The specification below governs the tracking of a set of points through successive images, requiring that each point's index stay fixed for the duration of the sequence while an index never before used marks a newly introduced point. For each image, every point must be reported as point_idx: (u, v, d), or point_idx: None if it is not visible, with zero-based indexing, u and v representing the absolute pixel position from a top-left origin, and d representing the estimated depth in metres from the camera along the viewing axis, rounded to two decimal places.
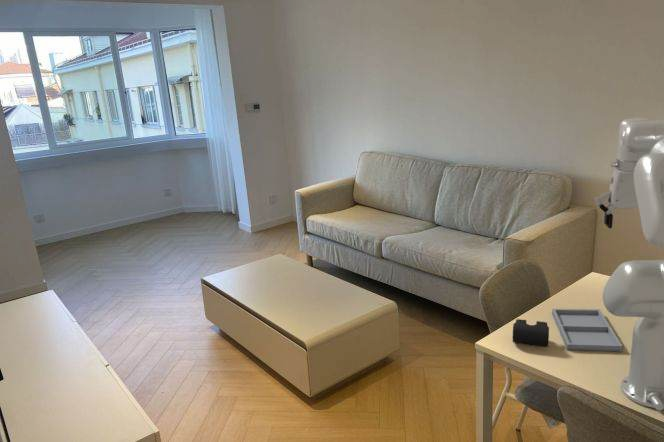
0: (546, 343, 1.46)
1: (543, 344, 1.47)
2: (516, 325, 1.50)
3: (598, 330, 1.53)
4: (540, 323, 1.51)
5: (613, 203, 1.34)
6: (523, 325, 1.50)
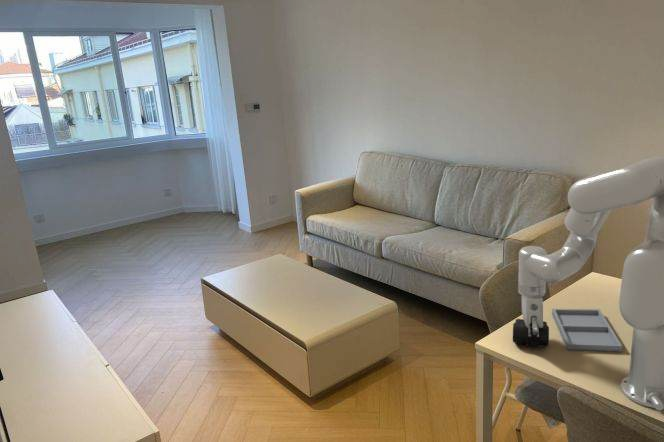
0: (546, 342, 1.46)
1: (543, 344, 1.47)
2: (516, 325, 1.50)
3: (598, 330, 1.53)
4: None
5: (542, 324, 1.44)
6: (523, 325, 1.50)
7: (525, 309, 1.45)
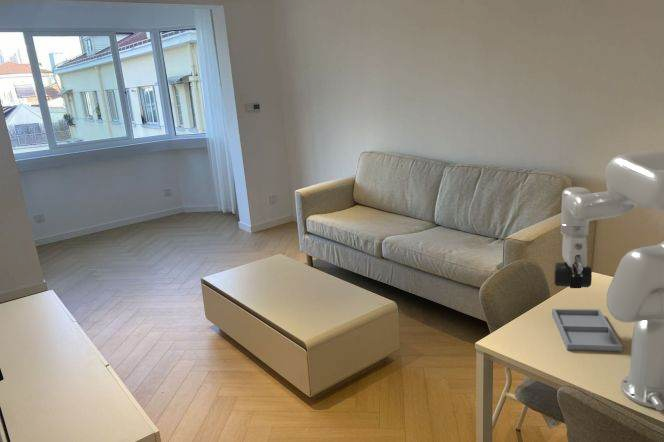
0: (589, 282, 1.49)
1: (586, 284, 1.49)
2: (558, 267, 1.52)
3: (598, 330, 1.53)
4: None
5: (586, 264, 1.46)
6: (565, 267, 1.52)
7: (569, 249, 1.47)
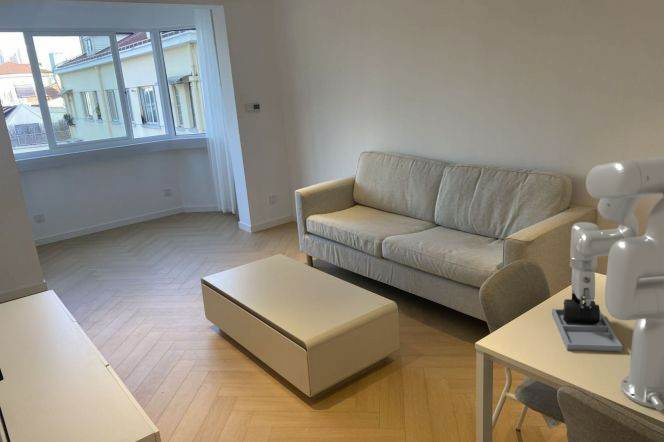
0: (597, 320, 1.54)
1: (594, 321, 1.55)
2: (567, 304, 1.58)
3: (598, 330, 1.53)
4: None
5: (594, 297, 1.52)
6: (574, 304, 1.57)
7: (577, 282, 1.52)
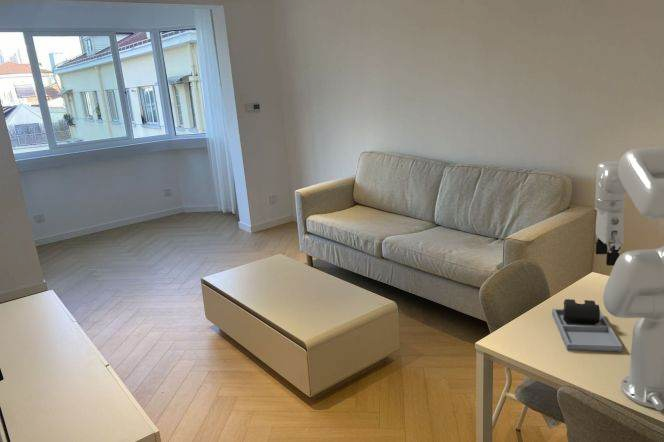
0: (597, 320, 1.54)
1: (594, 321, 1.55)
2: (567, 304, 1.58)
3: (598, 330, 1.53)
4: (588, 302, 1.59)
5: (622, 240, 1.41)
6: (574, 304, 1.57)
7: (604, 225, 1.42)
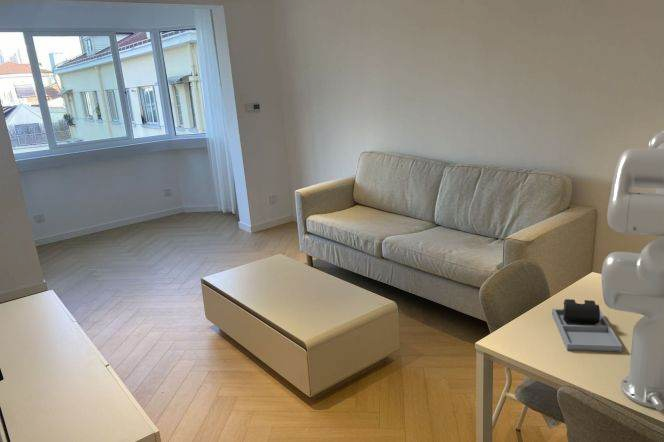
0: (597, 320, 1.54)
1: (594, 321, 1.55)
2: (567, 304, 1.58)
3: (598, 330, 1.53)
4: (588, 302, 1.59)
5: None
6: (574, 304, 1.57)
7: None
